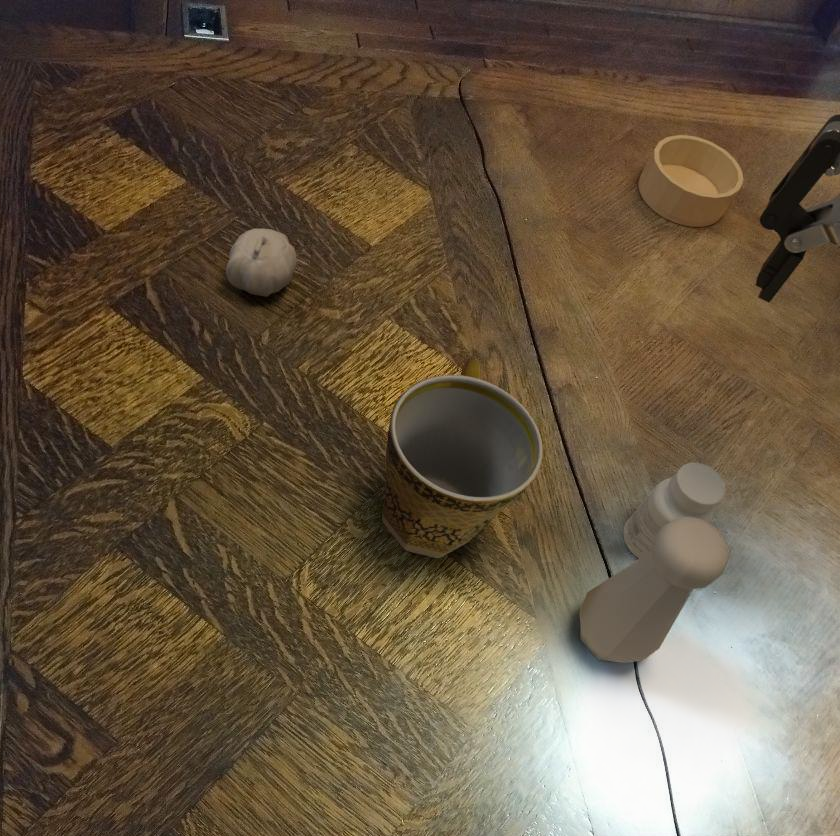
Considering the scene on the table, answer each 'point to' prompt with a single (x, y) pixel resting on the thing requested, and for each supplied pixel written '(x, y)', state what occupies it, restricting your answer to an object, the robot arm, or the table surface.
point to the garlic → (261, 262)
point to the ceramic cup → (455, 460)
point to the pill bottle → (674, 504)
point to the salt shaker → (652, 591)
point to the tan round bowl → (690, 180)
